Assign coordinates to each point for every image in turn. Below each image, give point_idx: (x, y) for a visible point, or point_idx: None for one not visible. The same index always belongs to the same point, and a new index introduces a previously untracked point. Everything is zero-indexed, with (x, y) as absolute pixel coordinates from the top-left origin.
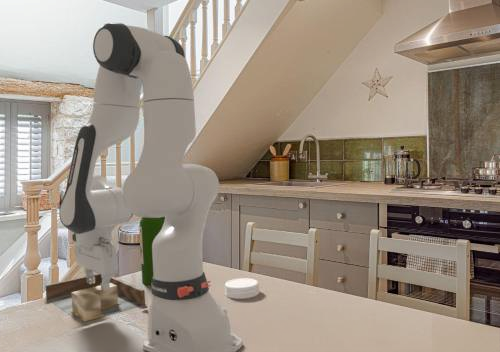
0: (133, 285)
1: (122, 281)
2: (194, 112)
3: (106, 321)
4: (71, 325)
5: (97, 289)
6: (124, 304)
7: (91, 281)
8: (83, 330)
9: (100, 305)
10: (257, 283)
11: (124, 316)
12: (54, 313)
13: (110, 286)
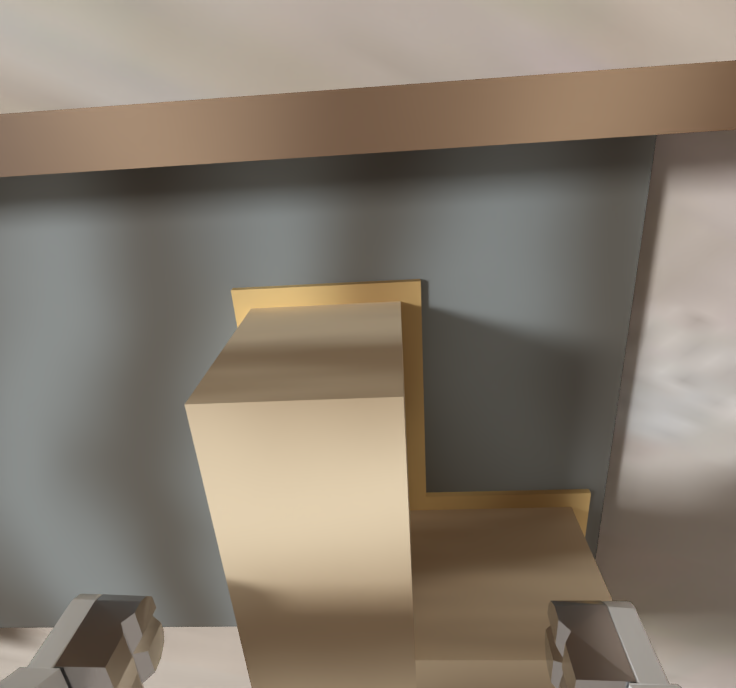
0: (375, 89)
1: (11, 137)
2: None
3: (663, 486)
4: None
5: (370, 604)
6: (466, 257)
7: (145, 650)
8: (670, 623)
9: (600, 573)
10: None
11: (701, 353)
12: (209, 644)
13: (372, 472)
